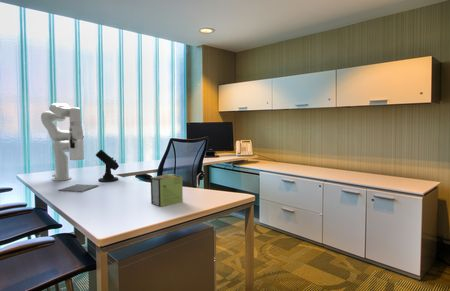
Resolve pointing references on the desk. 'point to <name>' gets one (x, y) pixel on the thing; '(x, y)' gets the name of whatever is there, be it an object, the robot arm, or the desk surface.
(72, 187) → the rubber mat
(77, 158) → the milk carton
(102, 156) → the microphone
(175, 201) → the protein box
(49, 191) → the desk surface
